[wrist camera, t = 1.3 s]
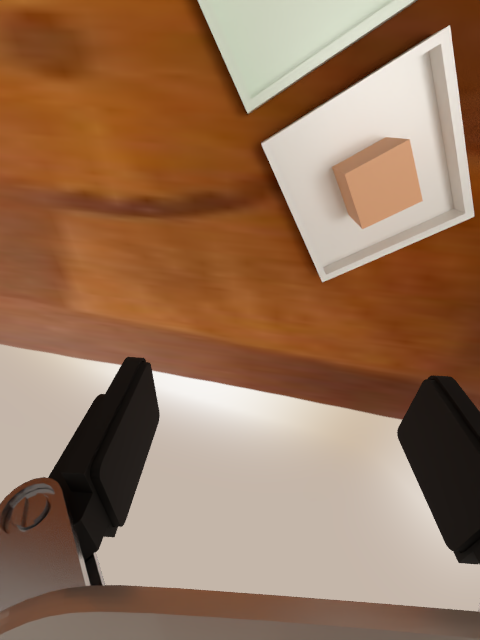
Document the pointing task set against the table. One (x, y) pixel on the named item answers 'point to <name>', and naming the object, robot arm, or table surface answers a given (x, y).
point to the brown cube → (379, 181)
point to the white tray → (363, 131)
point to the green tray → (287, 38)
